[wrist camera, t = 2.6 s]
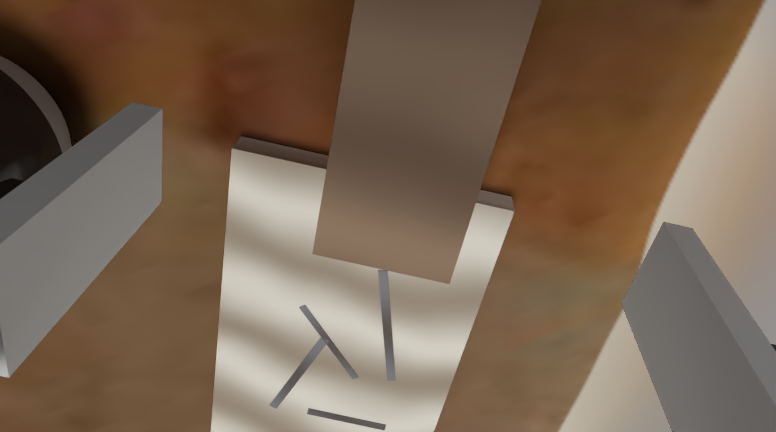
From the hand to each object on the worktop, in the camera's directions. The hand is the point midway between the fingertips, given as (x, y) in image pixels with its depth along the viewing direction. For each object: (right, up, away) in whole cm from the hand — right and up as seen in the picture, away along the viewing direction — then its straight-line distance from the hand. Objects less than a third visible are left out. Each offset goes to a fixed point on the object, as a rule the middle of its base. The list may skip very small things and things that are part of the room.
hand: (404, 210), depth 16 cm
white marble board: (-3, -8, +21) cm, 22 cm away
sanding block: (+1, +7, +12) cm, 14 cm away
